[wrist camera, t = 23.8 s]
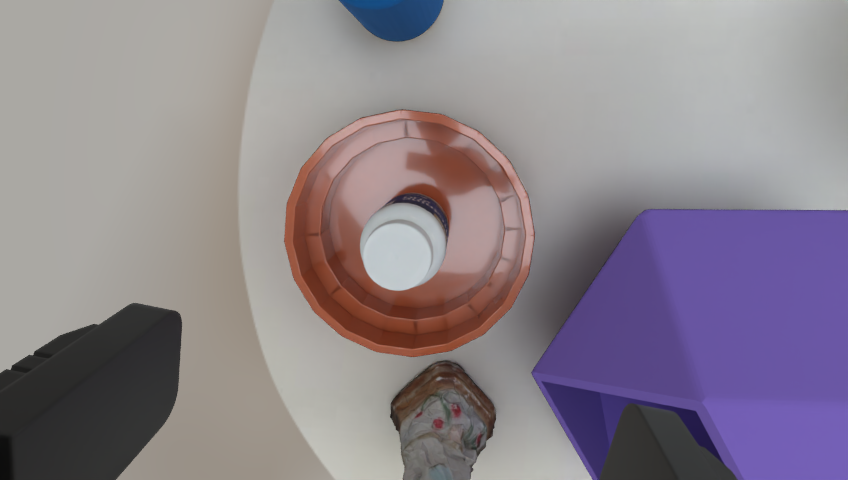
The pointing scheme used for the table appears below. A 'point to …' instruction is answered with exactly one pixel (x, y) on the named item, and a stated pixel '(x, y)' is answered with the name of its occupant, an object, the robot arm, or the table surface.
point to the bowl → (375, 186)
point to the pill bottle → (405, 242)
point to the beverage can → (395, 16)
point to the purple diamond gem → (715, 340)
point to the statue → (442, 424)
